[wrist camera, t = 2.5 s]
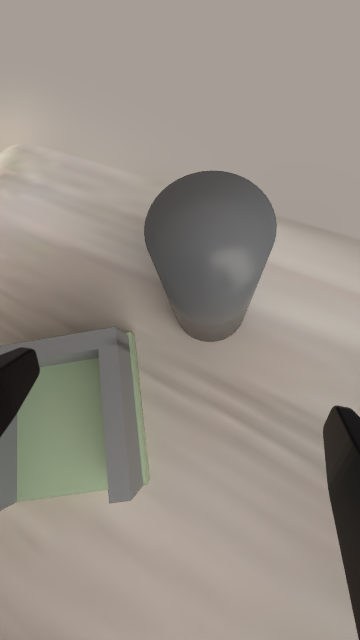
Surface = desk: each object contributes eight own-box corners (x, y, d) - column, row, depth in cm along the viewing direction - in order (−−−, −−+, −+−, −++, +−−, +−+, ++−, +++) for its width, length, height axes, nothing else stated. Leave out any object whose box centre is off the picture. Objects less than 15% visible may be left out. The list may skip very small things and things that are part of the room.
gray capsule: (239, 347, 21) (268, 296, 11) (169, 335, 22) (131, 277, 11) (249, 280, 22) (283, 176, 12) (182, 271, 23) (158, 165, 13)
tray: (149, 479, 20) (134, 500, 16) (6, 499, 20) (-42, 523, 16) (134, 334, 22) (118, 321, 18) (8, 355, 23) (-33, 346, 19)
